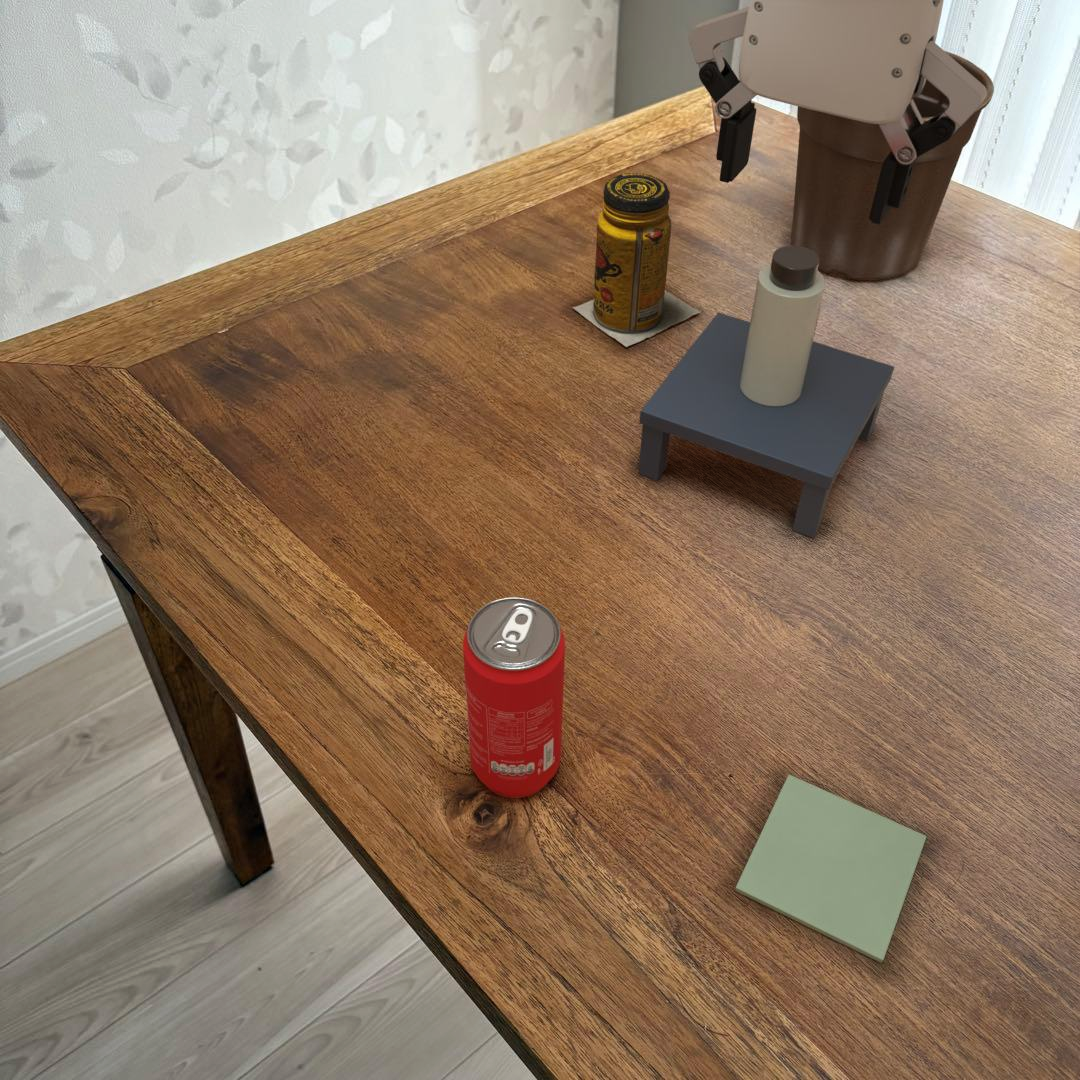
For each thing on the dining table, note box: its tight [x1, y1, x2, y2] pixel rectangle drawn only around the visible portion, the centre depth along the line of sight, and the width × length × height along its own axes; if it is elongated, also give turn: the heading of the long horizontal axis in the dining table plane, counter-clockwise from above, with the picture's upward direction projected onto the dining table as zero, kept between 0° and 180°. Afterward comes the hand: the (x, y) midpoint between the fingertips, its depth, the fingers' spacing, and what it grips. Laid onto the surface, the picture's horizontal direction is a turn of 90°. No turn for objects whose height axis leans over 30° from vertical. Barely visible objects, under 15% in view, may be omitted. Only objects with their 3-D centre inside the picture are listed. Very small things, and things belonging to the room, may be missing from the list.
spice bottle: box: [740, 244, 826, 407], centre depth 76 cm, size 4×4×11 cm
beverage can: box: [462, 596, 566, 799], centre depth 60 cm, size 5×5×12 cm
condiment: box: [572, 172, 701, 348], centre depth 92 cm, size 7×8×12 cm
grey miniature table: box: [637, 312, 895, 539], centre depth 82 cm, size 14×14×6 cm
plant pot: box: [790, 50, 995, 281], centre depth 99 cm, size 16×16×16 cm
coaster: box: [734, 774, 928, 964], centre depth 60 cm, size 8×8×1 cm
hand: (805, 193), depth 69 cm, fingers open, 9 cm apart
